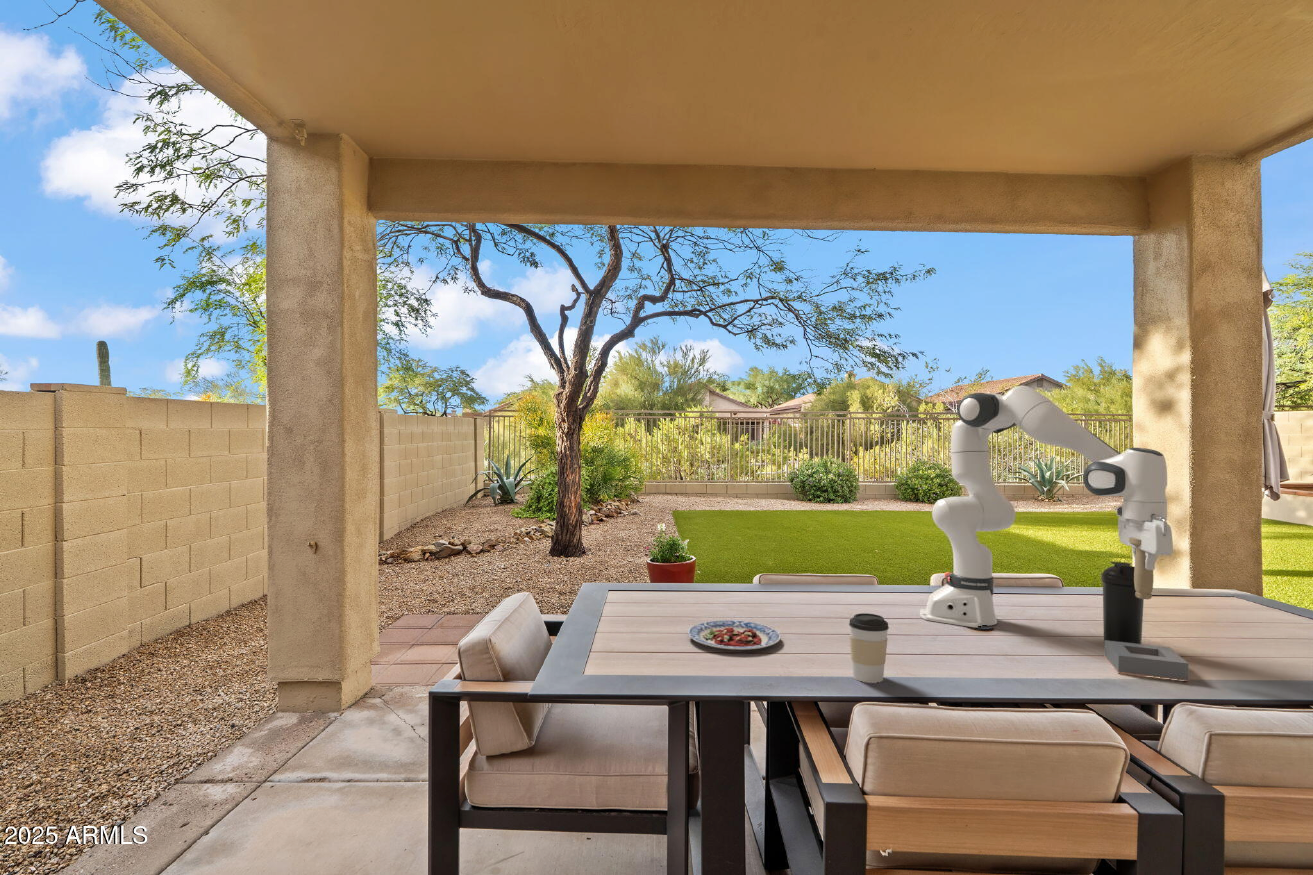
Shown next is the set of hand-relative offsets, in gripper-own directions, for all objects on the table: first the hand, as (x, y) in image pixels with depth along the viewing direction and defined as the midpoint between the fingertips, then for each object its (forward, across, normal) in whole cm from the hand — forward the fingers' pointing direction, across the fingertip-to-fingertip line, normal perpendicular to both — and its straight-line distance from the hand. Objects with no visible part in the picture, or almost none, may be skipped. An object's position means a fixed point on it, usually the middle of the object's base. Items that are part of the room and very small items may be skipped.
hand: (1144, 567), depth 165 cm
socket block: (+26, 0, 0) cm, 26 cm away
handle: (+8, 0, 0) cm, 8 cm away
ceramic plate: (+26, -5, +102) cm, 106 cm away
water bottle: (+26, +19, -3) cm, 32 cm away
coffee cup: (+26, -25, +68) cm, 77 cm away
